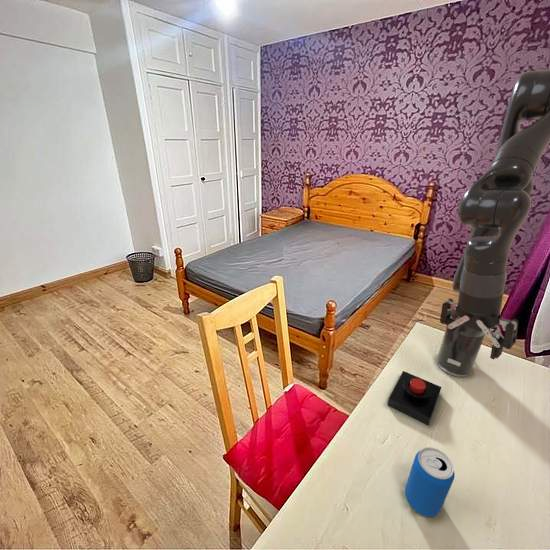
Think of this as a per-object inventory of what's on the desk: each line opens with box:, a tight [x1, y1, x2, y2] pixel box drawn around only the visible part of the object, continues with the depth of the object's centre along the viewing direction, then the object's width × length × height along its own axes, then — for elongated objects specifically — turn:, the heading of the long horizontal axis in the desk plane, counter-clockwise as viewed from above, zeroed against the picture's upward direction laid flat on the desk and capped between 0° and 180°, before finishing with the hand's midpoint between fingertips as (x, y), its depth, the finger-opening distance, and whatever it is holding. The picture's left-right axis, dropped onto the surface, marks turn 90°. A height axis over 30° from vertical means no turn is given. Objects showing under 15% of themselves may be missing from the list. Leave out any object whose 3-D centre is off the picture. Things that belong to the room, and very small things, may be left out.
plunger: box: [409, 378, 426, 394], centre depth 79 cm, size 4×4×2 cm
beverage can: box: [404, 446, 455, 518], centre depth 57 cm, size 6×6×12 cm
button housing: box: [387, 370, 442, 427], centre depth 80 cm, size 10×12×4 cm
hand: (472, 348), depth 70 cm, fingers open, 8 cm apart
